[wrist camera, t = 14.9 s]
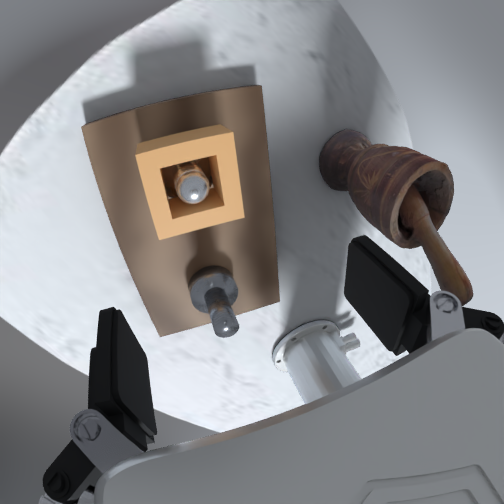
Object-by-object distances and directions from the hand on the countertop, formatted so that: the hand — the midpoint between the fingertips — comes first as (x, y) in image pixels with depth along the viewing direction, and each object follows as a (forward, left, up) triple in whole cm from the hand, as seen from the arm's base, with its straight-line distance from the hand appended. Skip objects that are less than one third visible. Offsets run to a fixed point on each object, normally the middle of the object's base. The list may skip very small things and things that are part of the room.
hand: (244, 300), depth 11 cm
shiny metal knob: (0, +14, -18) cm, 22 cm away
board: (0, +7, -20) cm, 21 cm away
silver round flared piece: (0, 0, -18) cm, 18 cm away
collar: (0, 0, -16) cm, 16 cm away
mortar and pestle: (-19, +5, -20) cm, 28 cm away
